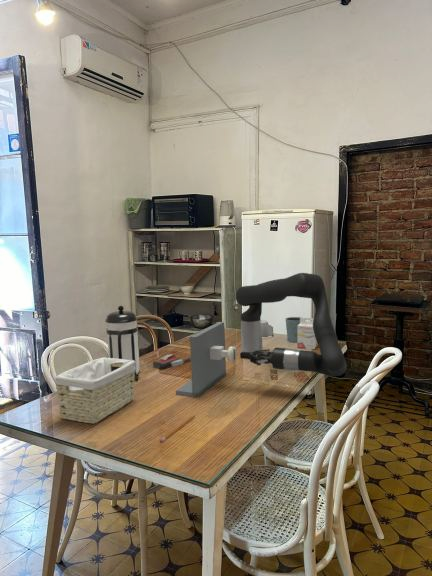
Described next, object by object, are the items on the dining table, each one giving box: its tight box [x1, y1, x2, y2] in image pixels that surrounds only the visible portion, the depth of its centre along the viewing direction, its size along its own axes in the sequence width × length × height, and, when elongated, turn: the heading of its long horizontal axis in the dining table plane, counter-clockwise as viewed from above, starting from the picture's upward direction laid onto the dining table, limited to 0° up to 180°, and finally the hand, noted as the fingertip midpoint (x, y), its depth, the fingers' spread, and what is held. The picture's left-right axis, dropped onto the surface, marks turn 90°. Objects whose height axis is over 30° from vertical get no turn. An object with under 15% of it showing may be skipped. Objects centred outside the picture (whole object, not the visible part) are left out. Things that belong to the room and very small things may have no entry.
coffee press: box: [104, 305, 141, 382], centre depth 174 cm, size 17×16×30 cm
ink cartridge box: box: [296, 317, 317, 350], centre depth 211 cm, size 9×5×15 cm, turn 65°
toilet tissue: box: [261, 319, 274, 337], centre depth 238 cm, size 9×13×9 cm
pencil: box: [159, 415, 195, 444], centre depth 128 cm, size 1×1×19 cm
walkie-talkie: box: [152, 353, 191, 370], centre depth 193 cm, size 9×4×20 cm
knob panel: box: [175, 321, 227, 398], centre depth 163 cm, size 13×26×22 cm, turn 157°
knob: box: [220, 345, 238, 363], centre depth 159 cm, size 6×6×6 cm
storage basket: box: [54, 356, 136, 425], centre depth 144 cm, size 24×16×15 cm
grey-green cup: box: [285, 316, 303, 344], centre depth 226 cm, size 10×10×12 cm
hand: (241, 355), depth 157 cm, fingers closed
